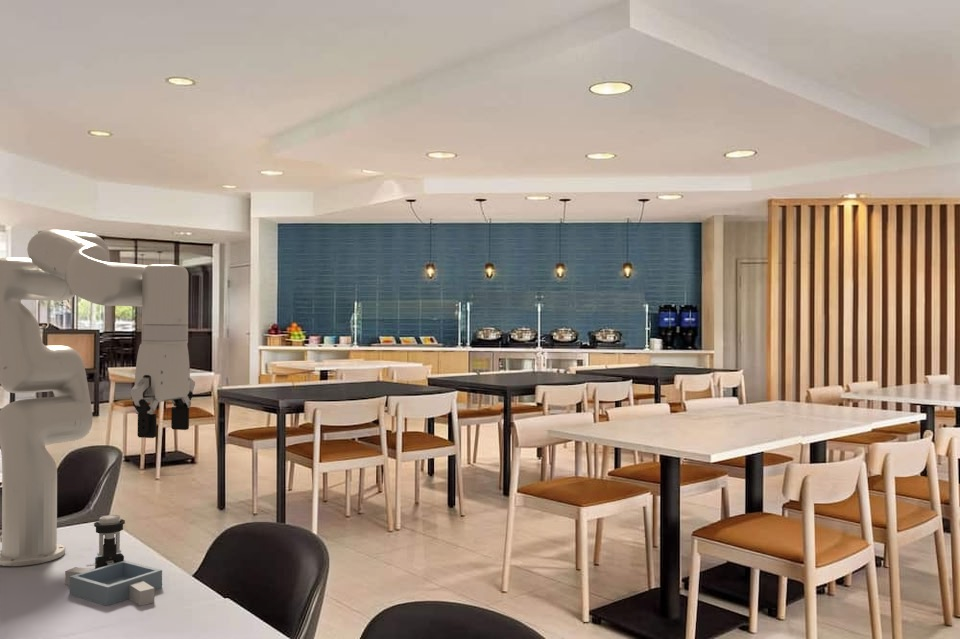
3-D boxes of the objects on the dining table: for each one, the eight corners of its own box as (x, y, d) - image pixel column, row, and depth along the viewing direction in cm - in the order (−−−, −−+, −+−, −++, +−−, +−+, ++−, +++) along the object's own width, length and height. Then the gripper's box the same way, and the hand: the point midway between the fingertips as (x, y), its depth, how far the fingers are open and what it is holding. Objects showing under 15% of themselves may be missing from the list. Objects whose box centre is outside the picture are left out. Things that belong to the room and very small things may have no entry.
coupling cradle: (49, 588, 139) (49, 570, 139) (104, 571, 148) (104, 555, 148) (127, 611, 128) (127, 592, 128) (181, 592, 137) (181, 574, 137)
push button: (88, 577, 145) (89, 523, 145) (83, 569, 149) (83, 517, 149) (127, 570, 149) (127, 518, 149) (121, 563, 153) (121, 512, 153)
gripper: (174, 334, 146) (173, 425, 146) (113, 336, 129) (112, 440, 129) (211, 334, 145) (210, 427, 145) (154, 336, 128) (153, 441, 128)
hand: (164, 433), depth 137 cm, fingers open, 9 cm apart
